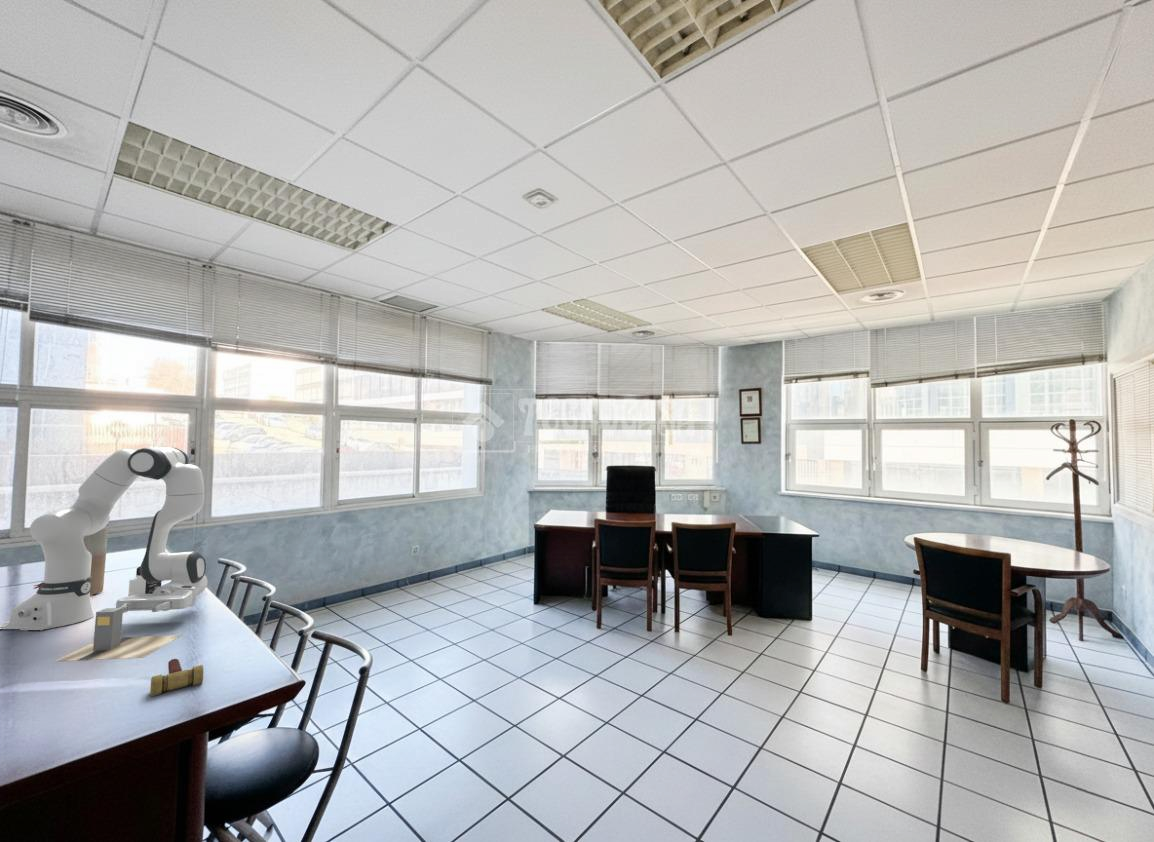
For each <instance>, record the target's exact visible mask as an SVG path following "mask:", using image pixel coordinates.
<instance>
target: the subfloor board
mask: <svg viewBox="0 0 1154 842" xmlns="http://www.w3.org/2000/svg"><path fill="white" fill-rule="evenodd" d="M181 636H183V635H182V634H174V635H153V636H152V635H151V636H150V635H149V636H148V635H147V636H125V637H122V636H121V642H120V646H118V647H116V648H114V649H112V650H102V651H93V644H94V642H91V643H90V644H87V645H85V646H84V647H81V648H79V649H77V650H75V651H73V652H71V653H69V654H67V655H64V656H63V657H60V658H58V659H56V660H54V661H53V662H72V661H95V660H96V661H97V660H99V661H101V660H118V659H136V658H137V659H138V658H145V657H147V656H150V654H152V653H154V652H156V651H157V650H160V649H162V647H164V646H166V645H168V644H170V643H171V642H174V641H175V640H176V639H178V638H180V637H181Z"/></svg>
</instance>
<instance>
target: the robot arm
mask: <svg viewBox="0 0 1154 842" xmlns="http://www.w3.org/2000/svg"><path fill="white" fill-rule="evenodd" d="M189 462H190V460H189V456H188V454H187V453H186V452H185V451H183V450H182V449H179V448H177V447H168V446H153V447H150V446H146V447H142V448H138V449H137V450H133V449H129V448H122V449H119V450H116V451H115V452H113V453H112V454H111V455H110V456H108V457H107V458H106V459H105V460H104V461H103V462H102V463H100V465H98V467H96V468H95V469H94V470H93V472H92V473H91V474H90V475H89V476H88V477H87V479H85V481H84V482H82V484H81V485H80V486H79V488H78V489H77V490H78V497H77V499H76V500H75V502H74V503H73V504H72V505H71V506H70V507H68V508H64V509H58V510H57V509H56V510H53V511H49V512H46V513H45V514H43V515H40V516H38V517H37V518H35V519H34V520H33V521H32V522H31V524H30V526H29V534H30V536H31V537H32V539H34V540H35V541H36V542H38V543H39V545H40V547H41V549H42V553H43V555H44V572H43V573H44V576H43V581H42V582H40V583H38V584H35V585H33V590H34V589H37V590H36V592H35V594H33V595H32V596H30V597H29V598H27V599H26V600H24V601H22V602H21V603H19V604H17V605H16V606H15V607H14V608H13V609H12V611H11V612H10V613H11V614H9V615H10V616H9V620H8V621H4V622H2V623H0V628H2V629H4V628H5V629H20V630H19V631H28V630H40V631H43V630H44V629H45V630H48V629H53V628H56V627H57V628H58V627H65V626H68V625H72V624H77V623H81V622H83V621H87V620H89V619H91V618H93V617H94V616H95V615H94V613H93V609H92V604H91V596H90V589H91V584H92V576H90V573H91V562H92V554H91V553H90V552H89V551H87V549H86V547H85V544H84V540H83V537H84V536H88V535H92V534H94V533H96V532H98V531H100V530H101V529H103V528H104V527H105V526H106V525H107V524H108V525H109V522H110V513H111V512H112V510H113V508H114V506H115V505H116V503H117V502H118V500H119V499H120V498H121V497H122V496H123V495H124V493H125V492H126V491H127V490H128V489H129V488H130V486H131V485H132V484H133V483H134V482H135V480H136V479H138V477H142V478H147V479H152V480H156V481H157V480H162V481H163V482H164V483H165V501H164V504H163V506H162V508H161V509H160V510H158V511H157V512H156V513H155V514H154V517H153V519H152V522H151V527H150V530H149V534H148V535H149V536H148V540H147V545H146V550H145V554H144V556H143V558H142V561H141V565H140V566H139V567H140V575H141V576H142V578H143V579H144V580H146V581H147V582H149V583H154V582H160V581H161V582H165V581H170V582H168V583H165V584H163V585H162V584H161V586H160V587H158V588H157V589H155V591H154V592H153V593H152V594H136V595H131V596H128V595H127V596H125V597H123V598H122V597H121V598H119V599H117V600H116V603H115V608H123V614H125V613H127V612H136V611H151V612H152V613H157V612H160V611H163V612H166V611H171V610H183V609H187V608H190V607H193V606H194V605H196V601H197V597H198V596H199V595H201V594H202V593H203V592H204V591H205V589H206V588H207V586H208V578H207V575H205V573H206V570H207V567H206V566H207V563H206V559H205V558H204V556H203V555H202V554H201V553H199V552H198V551H197V550H195V551H181V552H168V553H167V551H166V548H167V542H168V538H169V533H170V530H171V529H172V527H174V526H175V525H176V524H177V523H180V522H182V521H185V520H187V519H191V518H192V517H194V516H196V515H197V514H198V513H199V512H200V511H201V510H202V509H203V507H204V505H205V483H204V482H205V481H204V475H203V471H202V469H201V468H200V467H199V466H197V465H194V464H189ZM93 615H94V616H93ZM92 616H93V617H92ZM45 630H44V631H45Z"/></svg>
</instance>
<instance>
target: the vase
mask: <svg viewBox="0 0 1154 842" xmlns="http://www.w3.org/2000/svg"><path fill="white" fill-rule="evenodd" d="M108 533H109V523H108V524H107V525H106V526H105V527H104V528H103V529H101V530H100V531H98V532H96V533H94V534H92V535H88V536H84V537H83V540H84V544H85V547H86V549H87V551H89V552H90V553H91V554H92V562H91V573H90V576H92V584H91V589H90V595H92V596H94V595H93V594H96V595H98V594H97V593H99V594H101V593H100V592H102V591H103V592H104V584H105V573H106V560H107V547H108ZM103 592H102V593H103Z"/></svg>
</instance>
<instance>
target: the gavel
mask: <svg viewBox="0 0 1154 842" xmlns="http://www.w3.org/2000/svg"><path fill="white" fill-rule="evenodd" d="M167 663H168V664H167V665H168V674H166V675H163V674H157V675H154V676H151V678H150V697H154V696H155V697H156V696H158V695H159V696H160V695H161V694H162V693H163V692H170V691H174V690H178V689H181V688H185V687H188V686H190V685H192V686H193V687H194V686H196V685H201V684H202V683H203V682H204V666H203V664H199V665H195V666H192V668H191V669H184V670H182V667H181V663H180V660H179V659H178V658H172V659H170V660H169V661H168V662H167Z"/></svg>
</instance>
